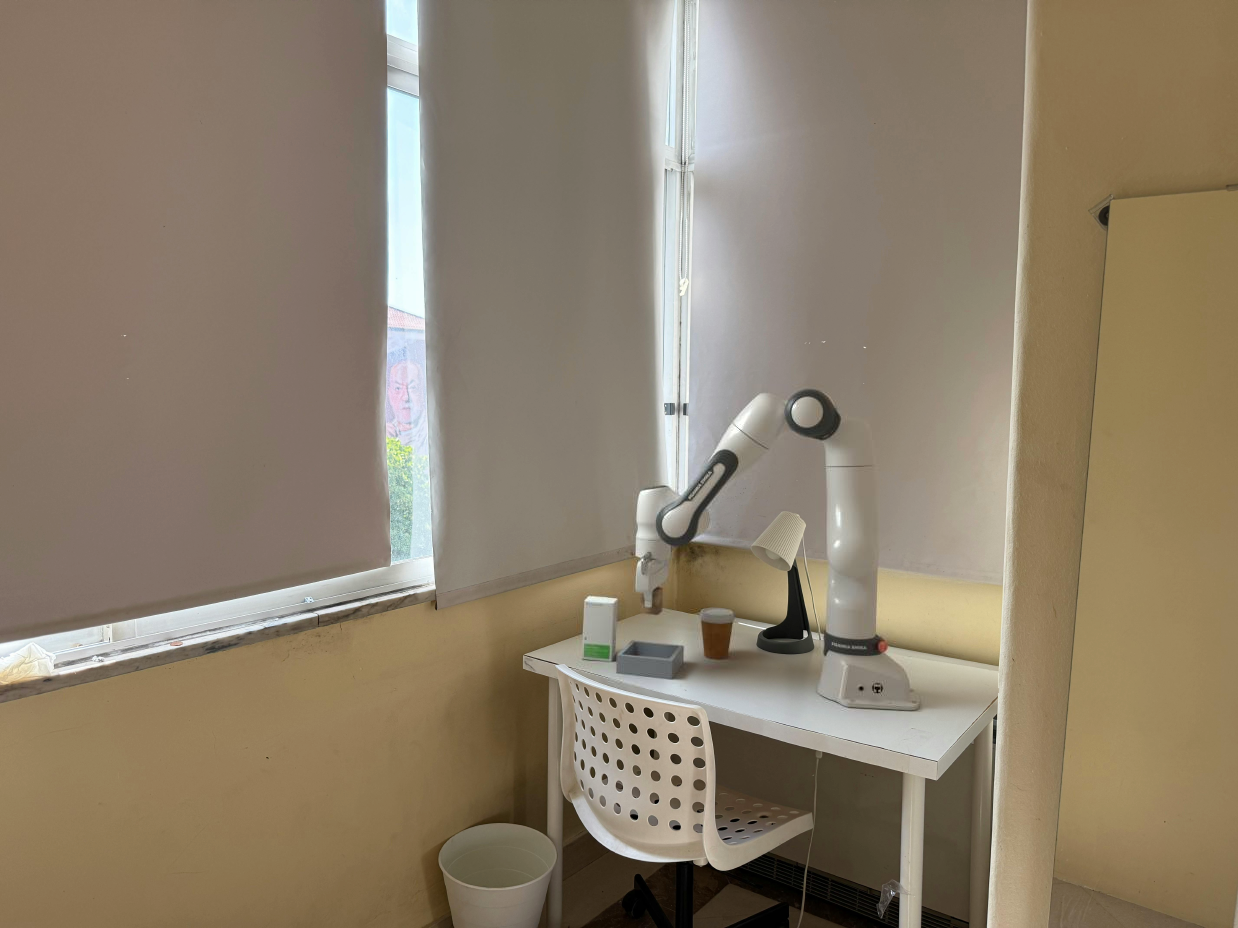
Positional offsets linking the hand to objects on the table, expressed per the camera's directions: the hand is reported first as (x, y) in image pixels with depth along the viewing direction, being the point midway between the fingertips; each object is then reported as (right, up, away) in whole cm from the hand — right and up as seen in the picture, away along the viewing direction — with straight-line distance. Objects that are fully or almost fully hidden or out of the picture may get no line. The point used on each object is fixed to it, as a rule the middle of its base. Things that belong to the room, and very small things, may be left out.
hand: (651, 603), depth 191 cm
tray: (0, -16, +1) cm, 16 cm away
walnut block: (0, -2, 0) cm, 2 cm away
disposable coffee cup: (+18, -16, +12) cm, 27 cm away
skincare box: (-13, -16, +9) cm, 23 cm away
